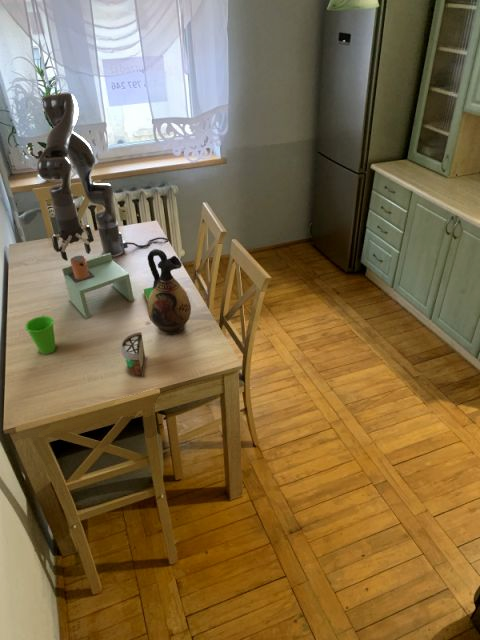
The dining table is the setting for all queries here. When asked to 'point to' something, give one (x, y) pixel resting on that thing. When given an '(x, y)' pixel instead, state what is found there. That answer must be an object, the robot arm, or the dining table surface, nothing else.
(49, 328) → the cup
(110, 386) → the dining table surface
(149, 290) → the dish sponge
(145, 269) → the dining table surface
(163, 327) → the ceramic jug
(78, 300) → the shelf
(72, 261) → the copper pot
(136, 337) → the food container
